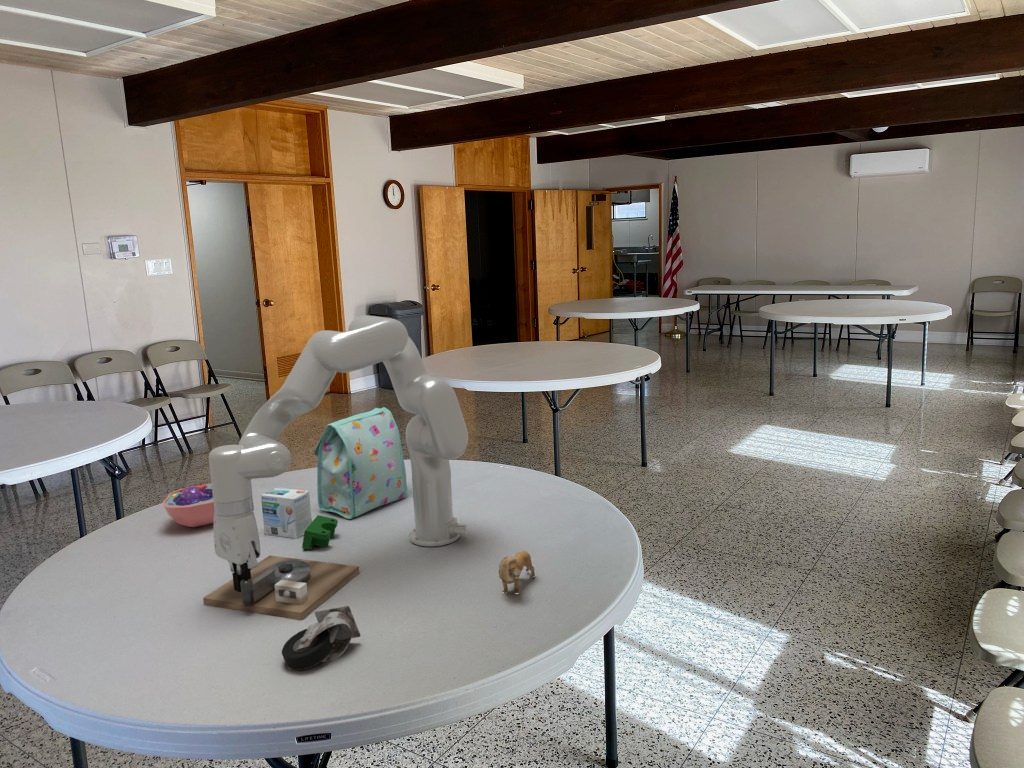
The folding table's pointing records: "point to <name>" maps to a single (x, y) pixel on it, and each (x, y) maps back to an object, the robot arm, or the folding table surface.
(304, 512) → the light bulb box
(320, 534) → the clamp
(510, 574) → the lion figurine
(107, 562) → the folding table surface
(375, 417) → the lunch bag
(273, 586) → the crank wheel
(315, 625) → the caster wheel
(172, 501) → the cell model
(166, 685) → the folding table surface
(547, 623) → the folding table surface
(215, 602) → the stand base
